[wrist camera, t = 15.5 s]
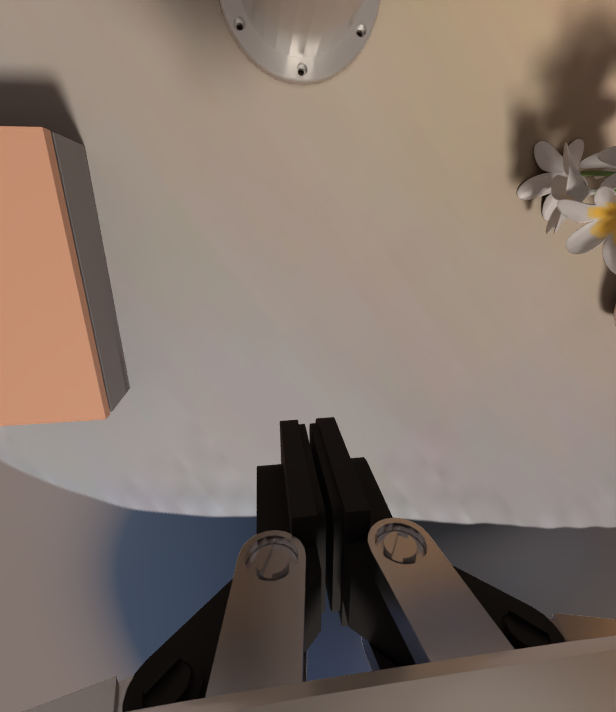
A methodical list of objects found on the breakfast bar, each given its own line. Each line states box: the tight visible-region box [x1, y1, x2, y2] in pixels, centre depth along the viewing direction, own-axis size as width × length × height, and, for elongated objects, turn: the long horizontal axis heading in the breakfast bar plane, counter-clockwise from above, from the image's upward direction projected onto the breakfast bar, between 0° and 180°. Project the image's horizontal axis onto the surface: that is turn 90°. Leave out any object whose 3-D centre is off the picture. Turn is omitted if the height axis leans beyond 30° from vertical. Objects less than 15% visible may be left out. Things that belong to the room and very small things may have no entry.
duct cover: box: [0, 126, 110, 426], centre depth 28 cm, size 22×12×1 cm, turn 0°
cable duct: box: [51, 132, 130, 412], centre depth 31 cm, size 22×11×5 cm, turn 0°
